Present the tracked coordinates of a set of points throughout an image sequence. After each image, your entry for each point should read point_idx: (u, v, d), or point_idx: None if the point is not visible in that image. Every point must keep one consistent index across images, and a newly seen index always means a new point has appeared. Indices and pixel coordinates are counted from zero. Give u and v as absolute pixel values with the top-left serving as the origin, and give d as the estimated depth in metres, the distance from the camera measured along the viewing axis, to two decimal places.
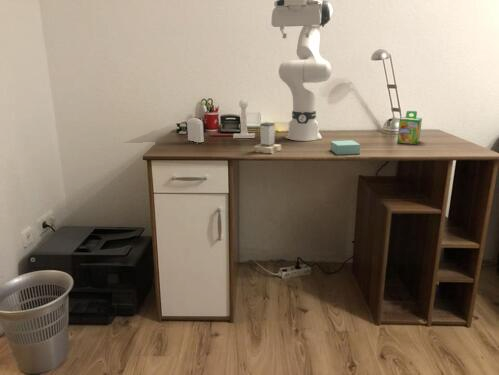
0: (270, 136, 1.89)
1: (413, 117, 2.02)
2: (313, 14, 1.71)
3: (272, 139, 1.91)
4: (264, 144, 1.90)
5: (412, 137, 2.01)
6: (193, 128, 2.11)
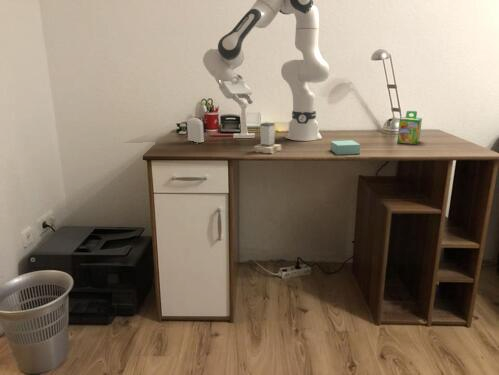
0: (270, 136, 1.89)
1: (413, 117, 2.02)
2: None
3: (272, 139, 1.91)
4: (264, 144, 1.90)
5: (412, 137, 2.01)
6: (193, 128, 2.11)
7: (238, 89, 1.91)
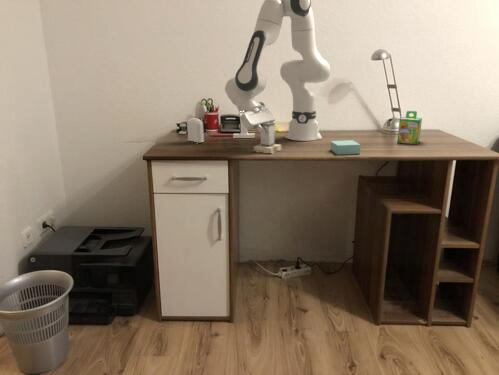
0: (270, 136, 1.89)
1: (413, 117, 2.02)
2: None
3: (272, 139, 1.91)
4: (264, 144, 1.90)
5: (412, 137, 2.01)
6: (193, 128, 2.11)
7: (260, 118, 1.90)
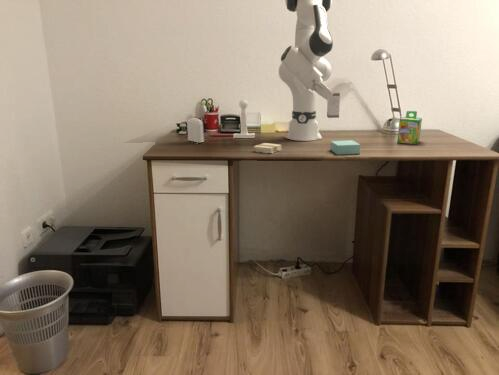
0: (338, 106, 1.79)
1: (413, 117, 2.02)
2: None
3: None
4: (332, 115, 1.80)
5: (412, 137, 2.01)
6: (193, 128, 2.11)
7: None
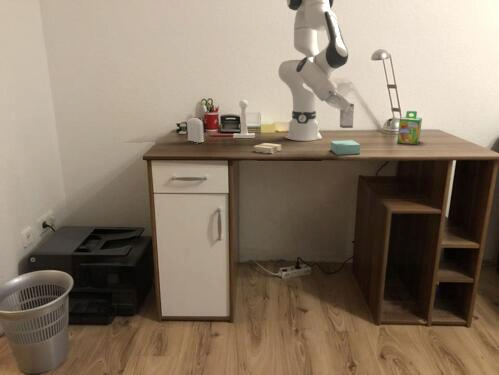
0: None
1: (413, 117, 2.02)
2: (336, 104, 1.74)
3: None
4: (346, 125, 1.82)
5: (412, 137, 2.01)
6: (193, 128, 2.11)
7: None
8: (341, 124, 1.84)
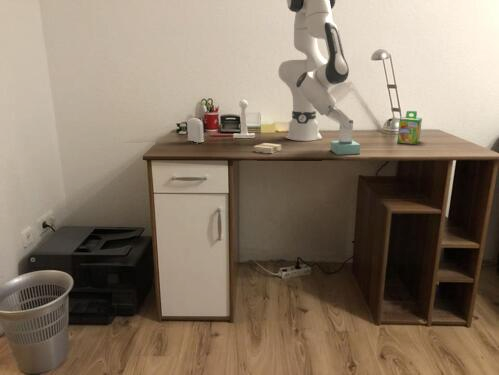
0: None
1: (413, 117, 2.02)
2: (336, 118, 1.76)
3: None
4: (346, 141, 1.85)
5: (412, 137, 2.01)
6: (193, 128, 2.11)
7: None
8: (340, 140, 1.86)
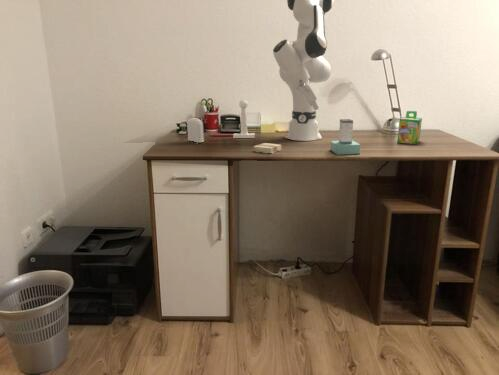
0: None
1: (413, 117, 2.02)
2: None
3: None
4: (346, 141, 1.85)
5: (412, 137, 2.01)
6: (193, 128, 2.11)
7: None
8: (340, 140, 1.86)
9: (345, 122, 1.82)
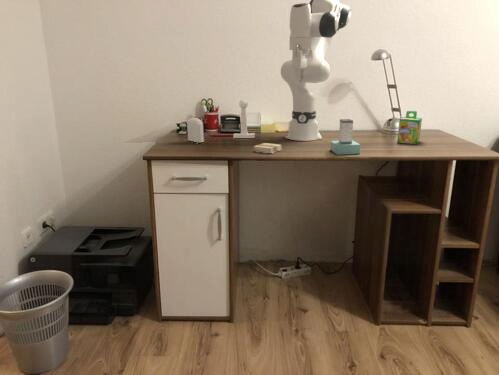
0: None
1: (413, 117, 2.02)
2: None
3: None
4: (346, 141, 1.85)
5: (412, 137, 2.01)
6: (193, 128, 2.11)
7: (304, 62, 1.77)
8: (340, 140, 1.86)
9: (345, 122, 1.82)
